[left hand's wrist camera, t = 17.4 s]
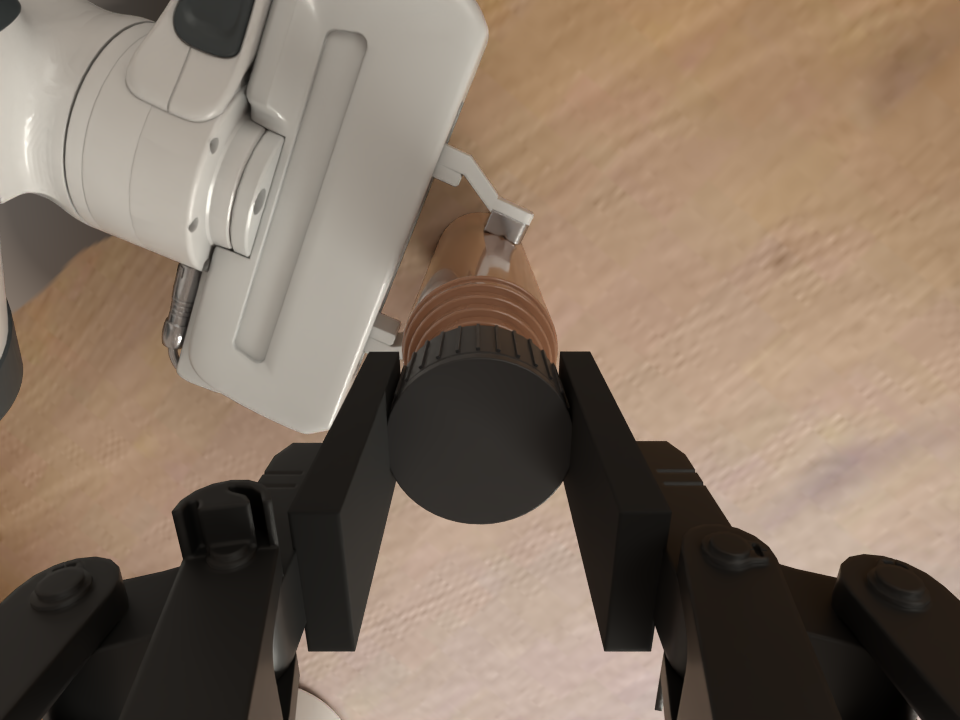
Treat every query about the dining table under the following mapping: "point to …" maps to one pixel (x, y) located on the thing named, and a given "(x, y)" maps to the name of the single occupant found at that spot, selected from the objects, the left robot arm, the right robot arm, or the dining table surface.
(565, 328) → the dining table surface
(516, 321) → the bottle
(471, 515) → the cap
